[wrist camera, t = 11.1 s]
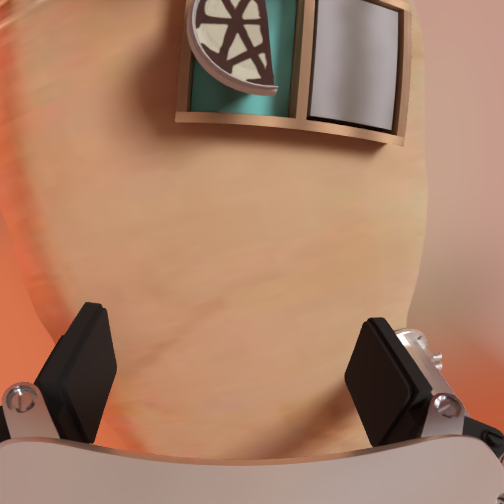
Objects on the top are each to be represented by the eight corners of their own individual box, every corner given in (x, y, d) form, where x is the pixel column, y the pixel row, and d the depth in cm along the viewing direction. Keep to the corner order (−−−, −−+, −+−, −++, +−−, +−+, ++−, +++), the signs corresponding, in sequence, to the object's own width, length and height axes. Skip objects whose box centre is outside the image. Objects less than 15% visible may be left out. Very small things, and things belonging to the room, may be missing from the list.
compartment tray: (396, 11, 25) (415, 2, 21) (387, 142, 32) (407, 147, 28) (194, -24, 22) (191, -41, 19) (179, 121, 29) (173, 122, 25)
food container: (190, 0, 24) (179, -41, 15) (250, -5, 24) (263, -47, 15) (199, 107, 29) (191, 102, 20) (261, 101, 29) (279, 94, 20)
